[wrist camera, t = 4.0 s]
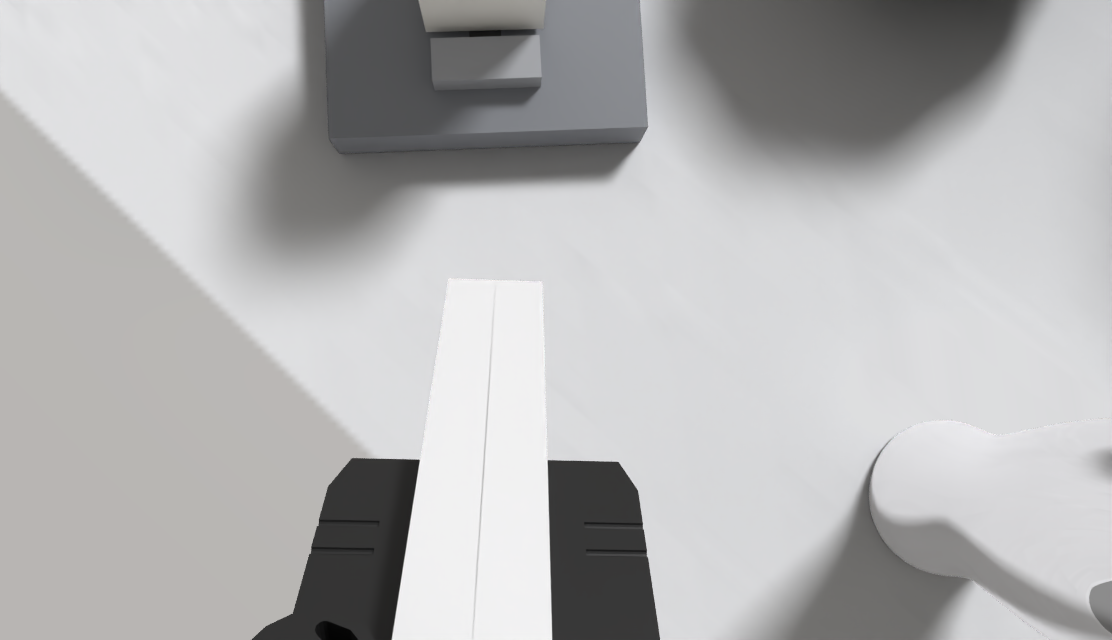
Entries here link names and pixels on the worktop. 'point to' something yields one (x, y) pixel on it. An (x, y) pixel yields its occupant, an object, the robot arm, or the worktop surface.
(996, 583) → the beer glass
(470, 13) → the fader knob
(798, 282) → the worktop surface
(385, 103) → the panel
